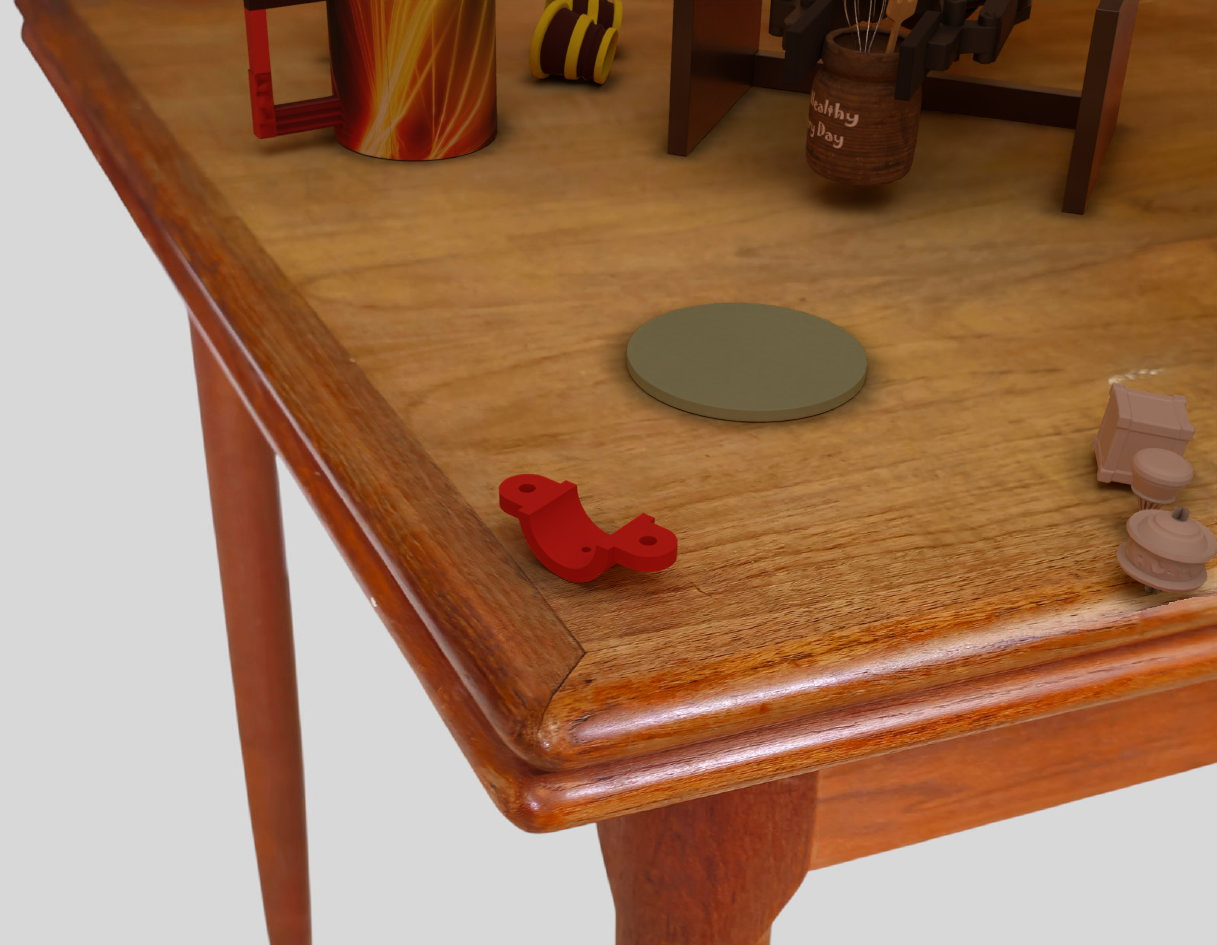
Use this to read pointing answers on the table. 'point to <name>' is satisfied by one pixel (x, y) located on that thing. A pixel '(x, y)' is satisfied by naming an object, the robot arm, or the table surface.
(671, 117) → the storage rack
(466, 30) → the mug
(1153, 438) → the toy set
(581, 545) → the pipe clamp
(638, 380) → the rubber mat
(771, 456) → the table surface
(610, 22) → the opera glasses
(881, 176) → the utensil holder
